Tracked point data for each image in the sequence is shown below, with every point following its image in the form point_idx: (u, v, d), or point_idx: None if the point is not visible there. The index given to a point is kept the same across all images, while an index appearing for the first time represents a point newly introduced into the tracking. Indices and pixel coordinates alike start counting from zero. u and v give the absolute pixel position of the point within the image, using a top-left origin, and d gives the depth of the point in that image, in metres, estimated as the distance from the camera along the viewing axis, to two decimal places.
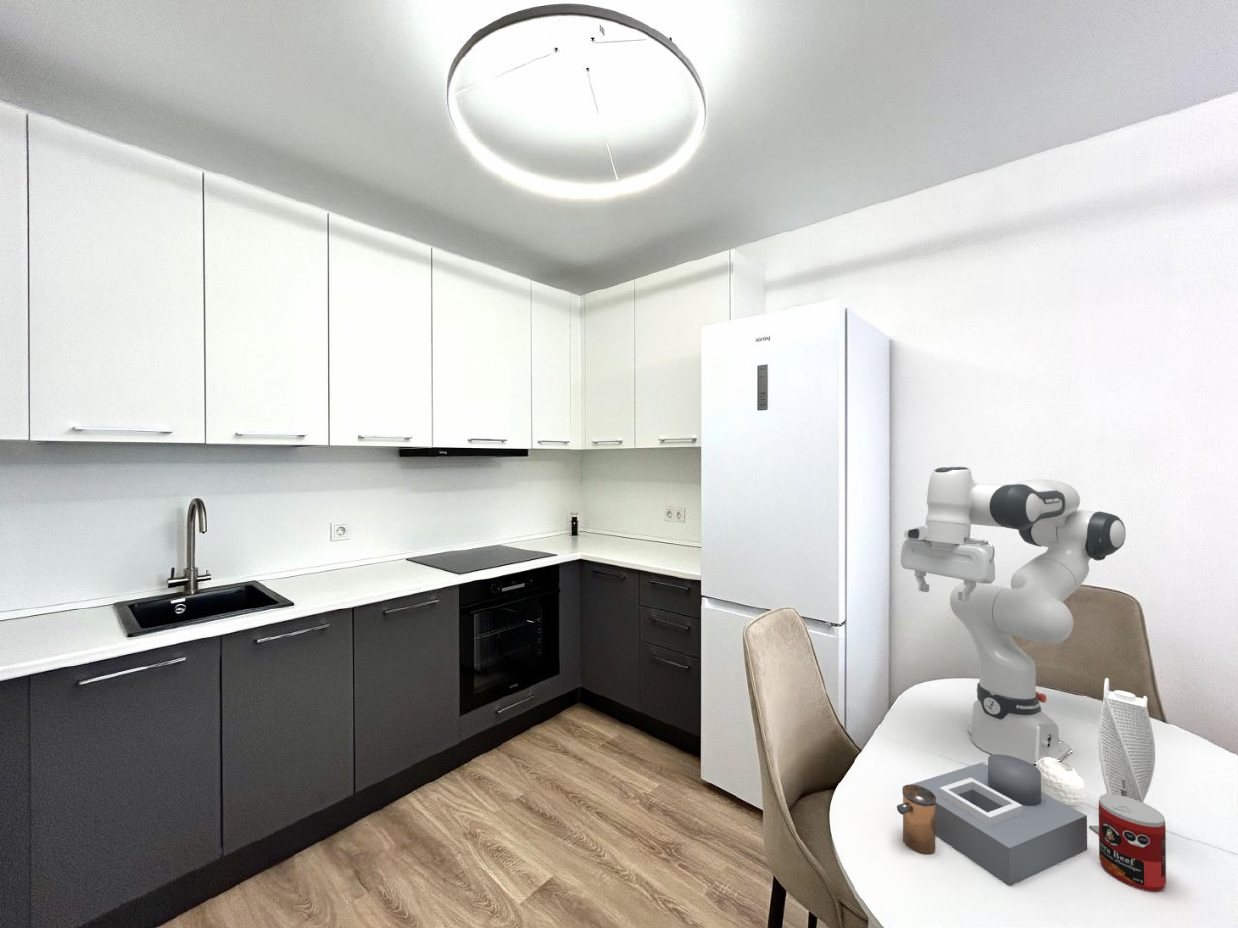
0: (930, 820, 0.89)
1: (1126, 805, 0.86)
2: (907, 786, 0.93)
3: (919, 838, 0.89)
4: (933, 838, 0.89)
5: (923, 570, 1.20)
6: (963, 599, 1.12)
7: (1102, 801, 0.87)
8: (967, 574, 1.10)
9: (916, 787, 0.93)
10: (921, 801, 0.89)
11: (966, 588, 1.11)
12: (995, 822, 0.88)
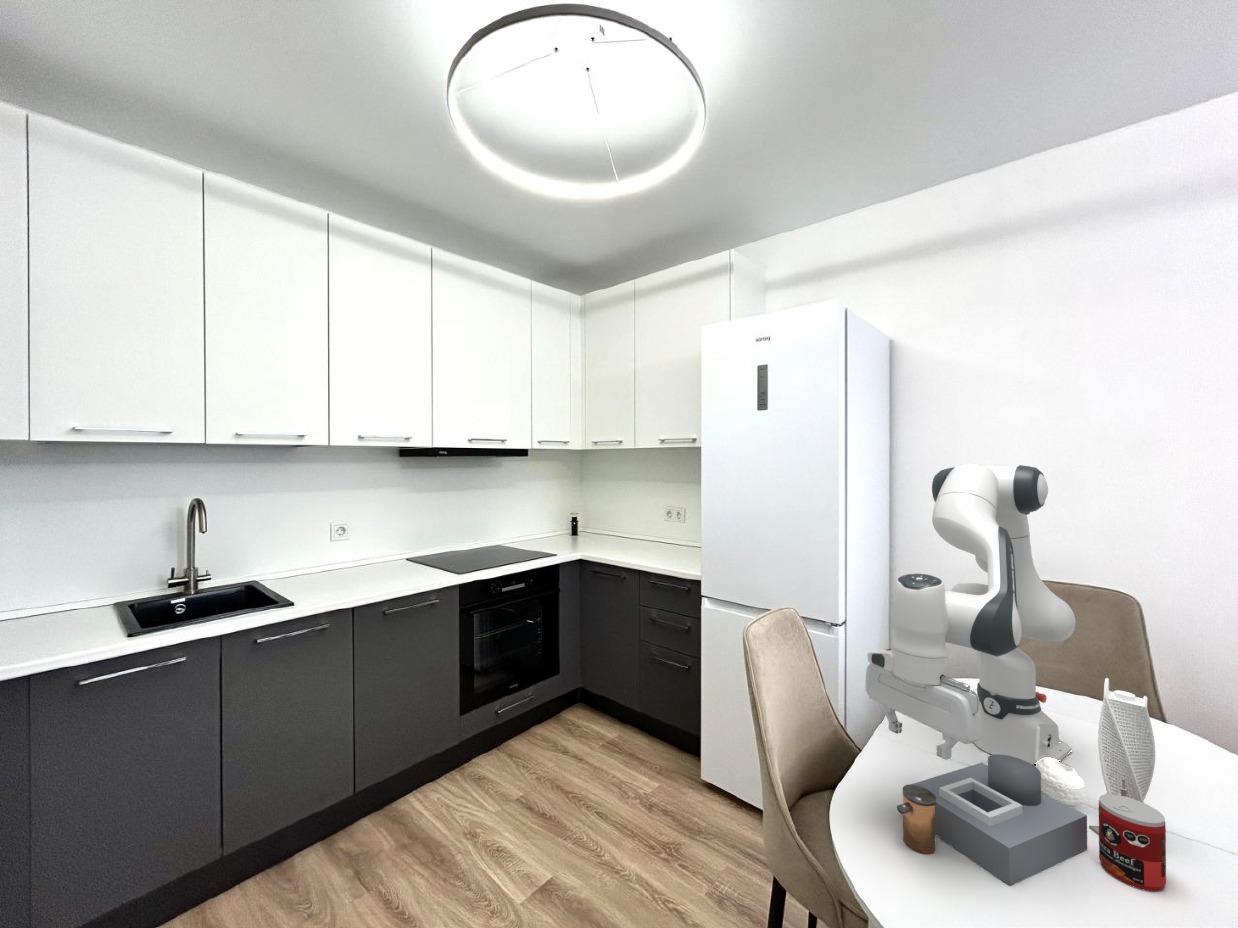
0: (930, 820, 0.89)
1: (1126, 805, 0.86)
2: (907, 786, 0.93)
3: (919, 838, 0.89)
4: (933, 838, 0.89)
5: (892, 707, 0.95)
6: (943, 757, 0.86)
7: (1102, 801, 0.87)
8: (946, 727, 0.85)
9: (916, 787, 0.93)
10: (921, 801, 0.89)
11: (946, 744, 0.86)
12: (995, 822, 0.88)
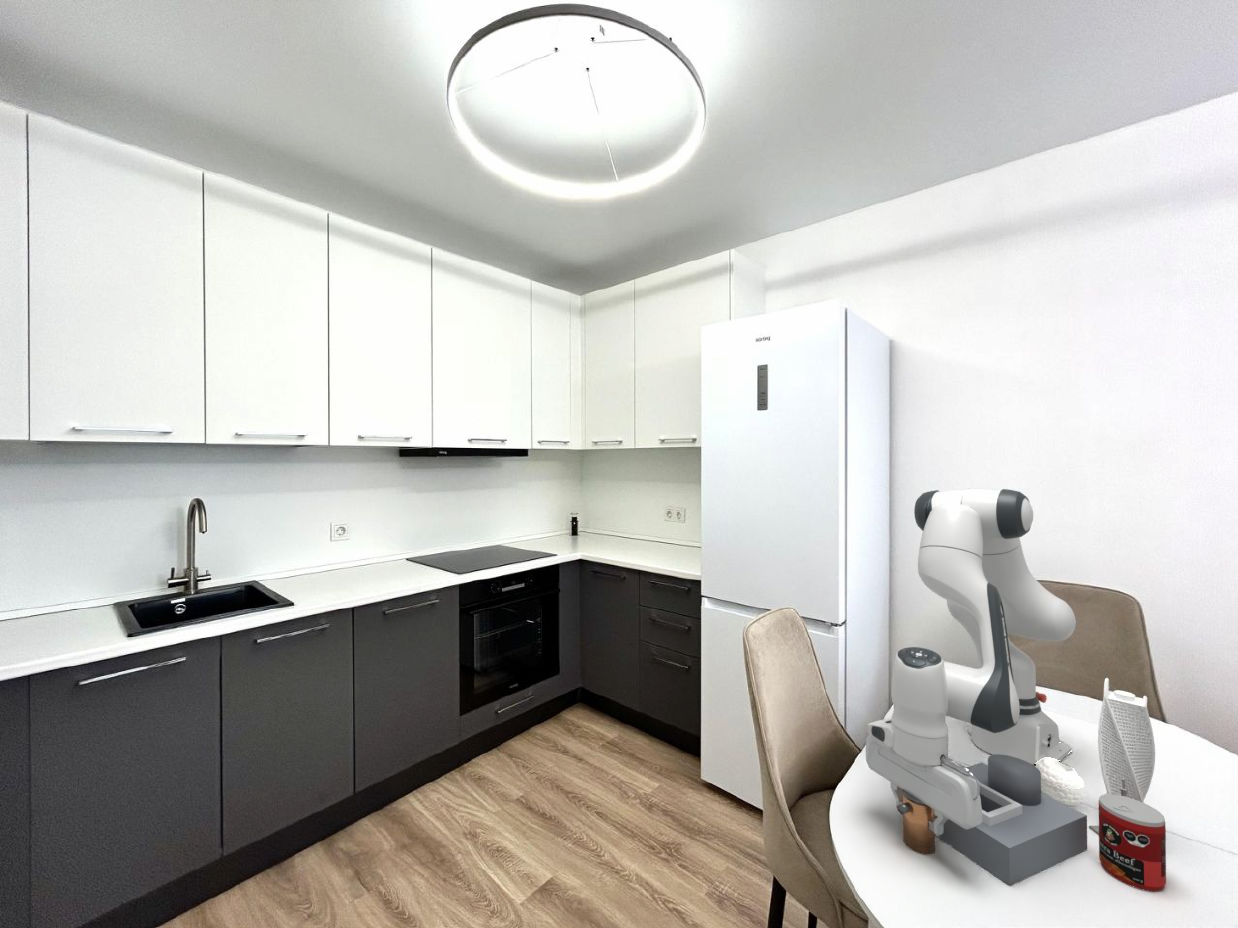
0: None
1: (1126, 805, 0.86)
2: None
3: (919, 838, 0.89)
4: (933, 838, 0.89)
5: (893, 782, 0.94)
6: (935, 833, 0.88)
7: (1102, 801, 0.87)
8: (946, 810, 0.85)
9: None
10: (921, 801, 0.89)
11: (938, 820, 0.87)
12: (995, 822, 0.88)
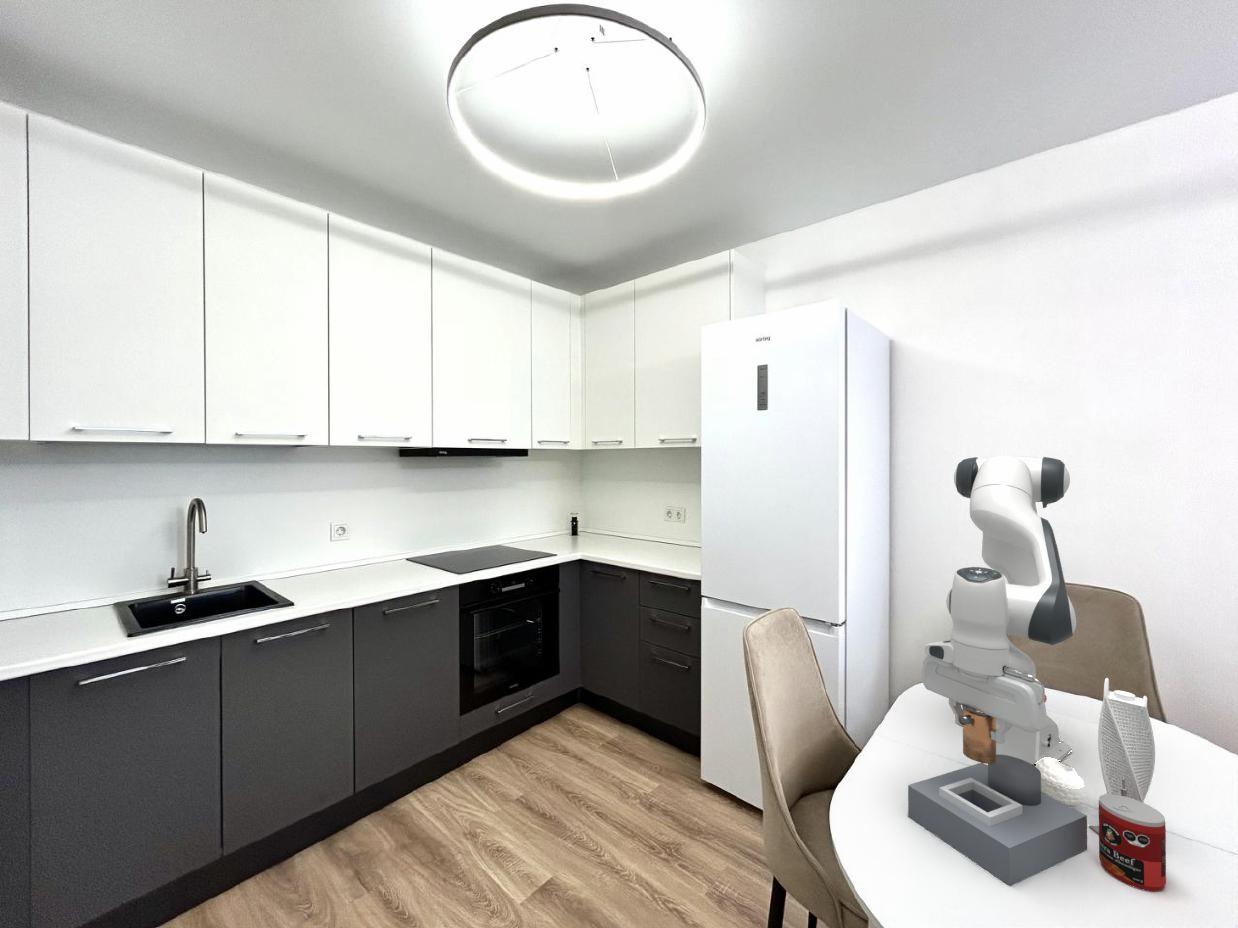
0: None
1: (1126, 805, 0.86)
2: None
3: (981, 748, 0.91)
4: (994, 748, 0.91)
5: (952, 698, 0.97)
6: (998, 741, 0.90)
7: (1102, 801, 0.87)
8: (1010, 717, 0.87)
9: None
10: (983, 712, 0.91)
11: (1000, 729, 0.89)
12: (995, 822, 0.88)
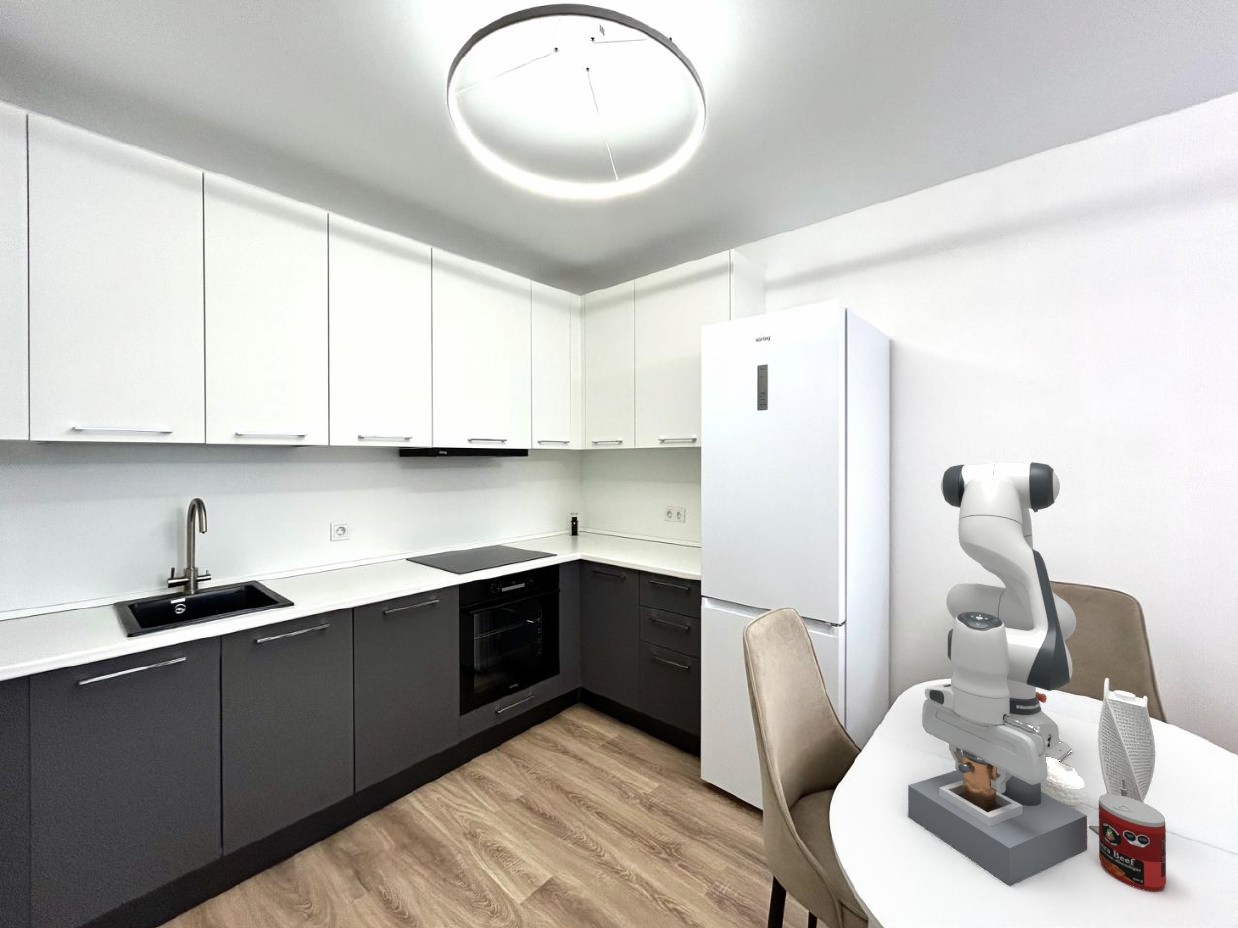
0: (992, 778, 0.91)
1: (1126, 805, 0.86)
2: None
3: (981, 797, 0.91)
4: (994, 797, 0.91)
5: (952, 743, 0.96)
6: (998, 791, 0.89)
7: (1102, 801, 0.87)
8: (1011, 767, 0.87)
9: None
10: (983, 760, 0.91)
11: (1001, 778, 0.89)
12: (995, 822, 0.88)
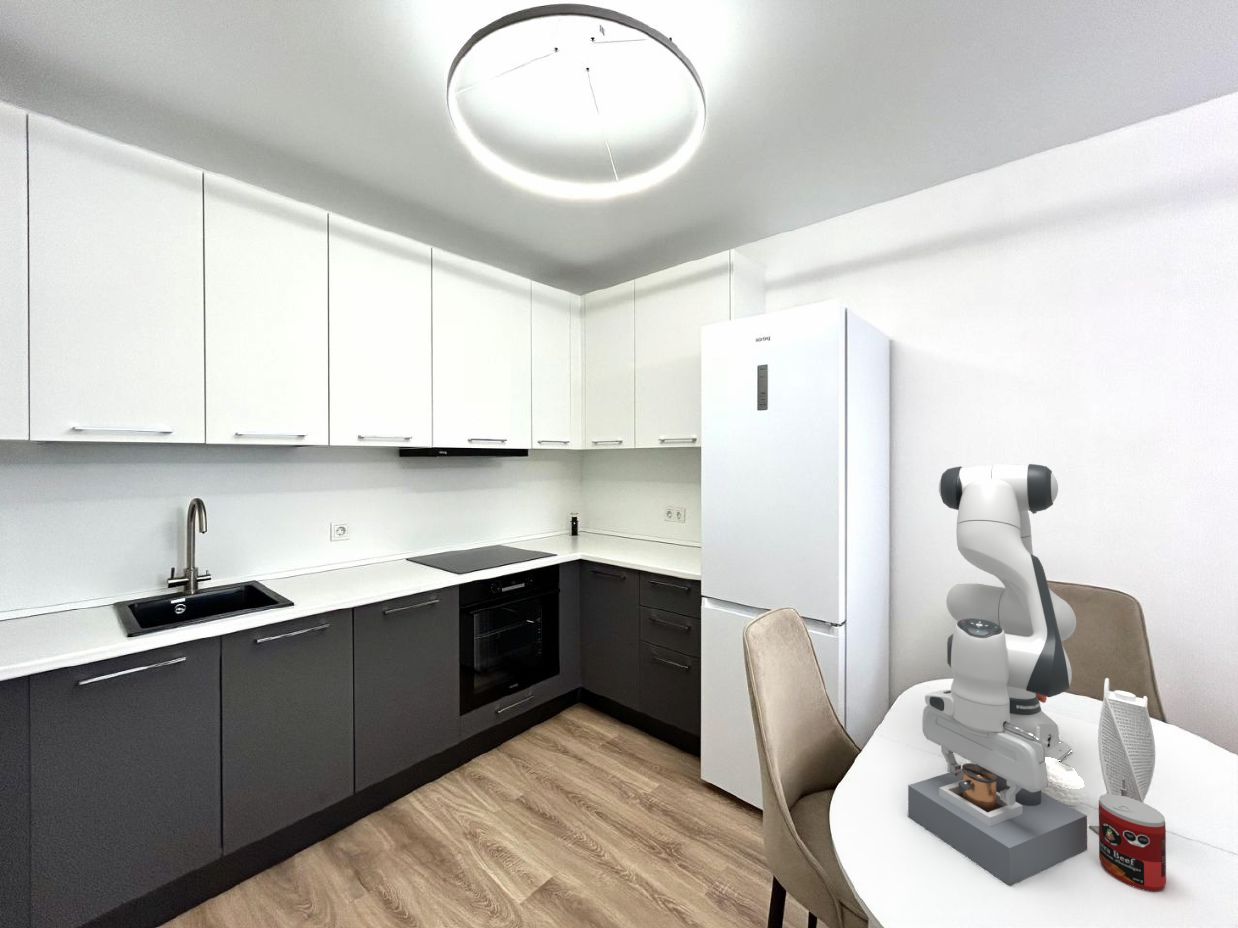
0: (992, 796, 0.91)
1: (1126, 805, 0.86)
2: (966, 764, 0.95)
3: None
4: None
5: (952, 750, 0.96)
6: (1007, 803, 0.88)
7: (1102, 801, 0.87)
8: (1011, 775, 0.87)
9: (975, 765, 0.95)
10: (983, 778, 0.91)
11: (1010, 790, 0.88)
12: (995, 822, 0.88)
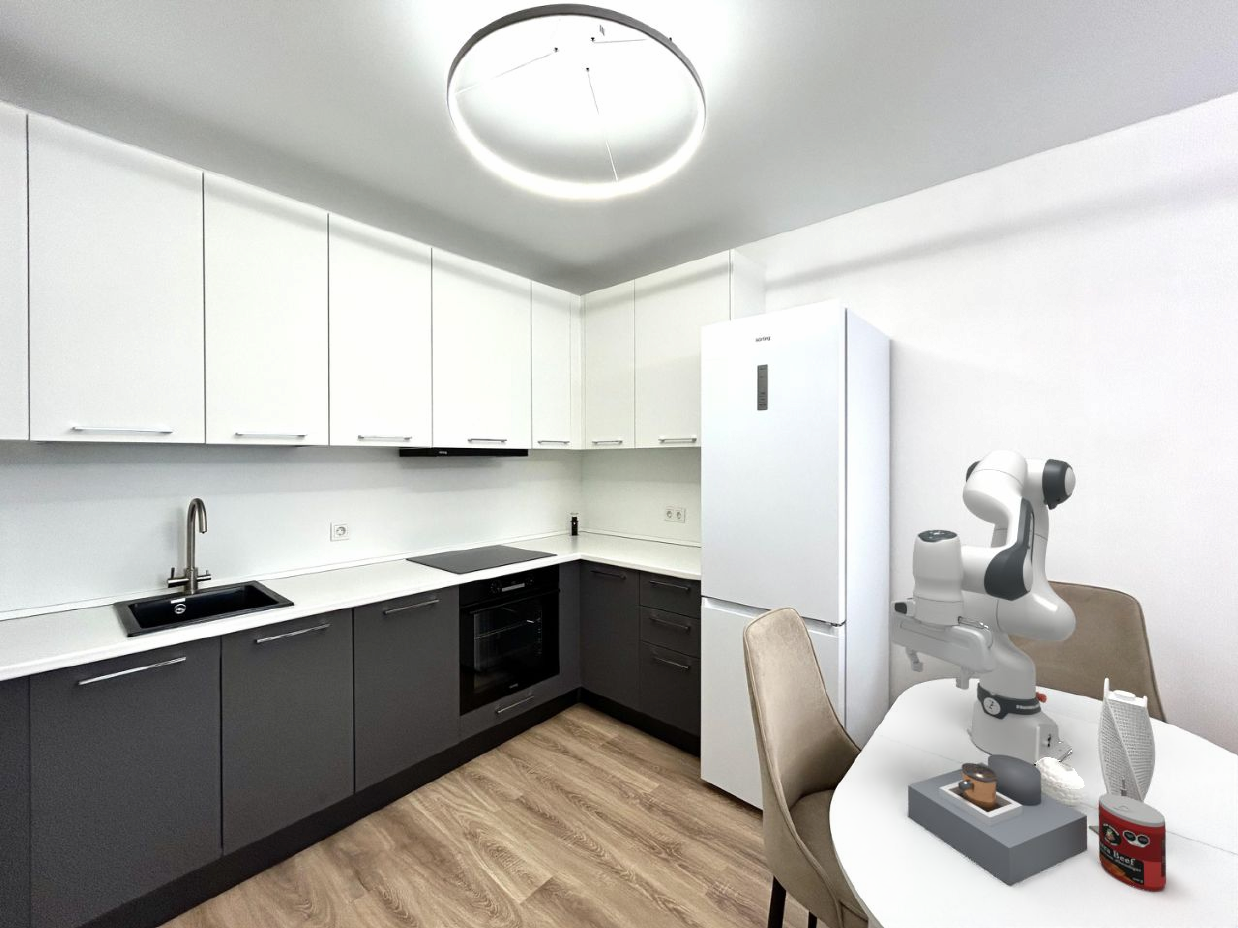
0: (992, 796, 0.91)
1: (1126, 805, 0.86)
2: (966, 764, 0.95)
3: None
4: None
5: (915, 649, 1.06)
6: (962, 687, 0.98)
7: (1102, 801, 0.87)
8: (964, 661, 0.97)
9: (975, 765, 0.95)
10: (983, 777, 0.91)
11: (964, 676, 0.98)
12: (995, 822, 0.88)
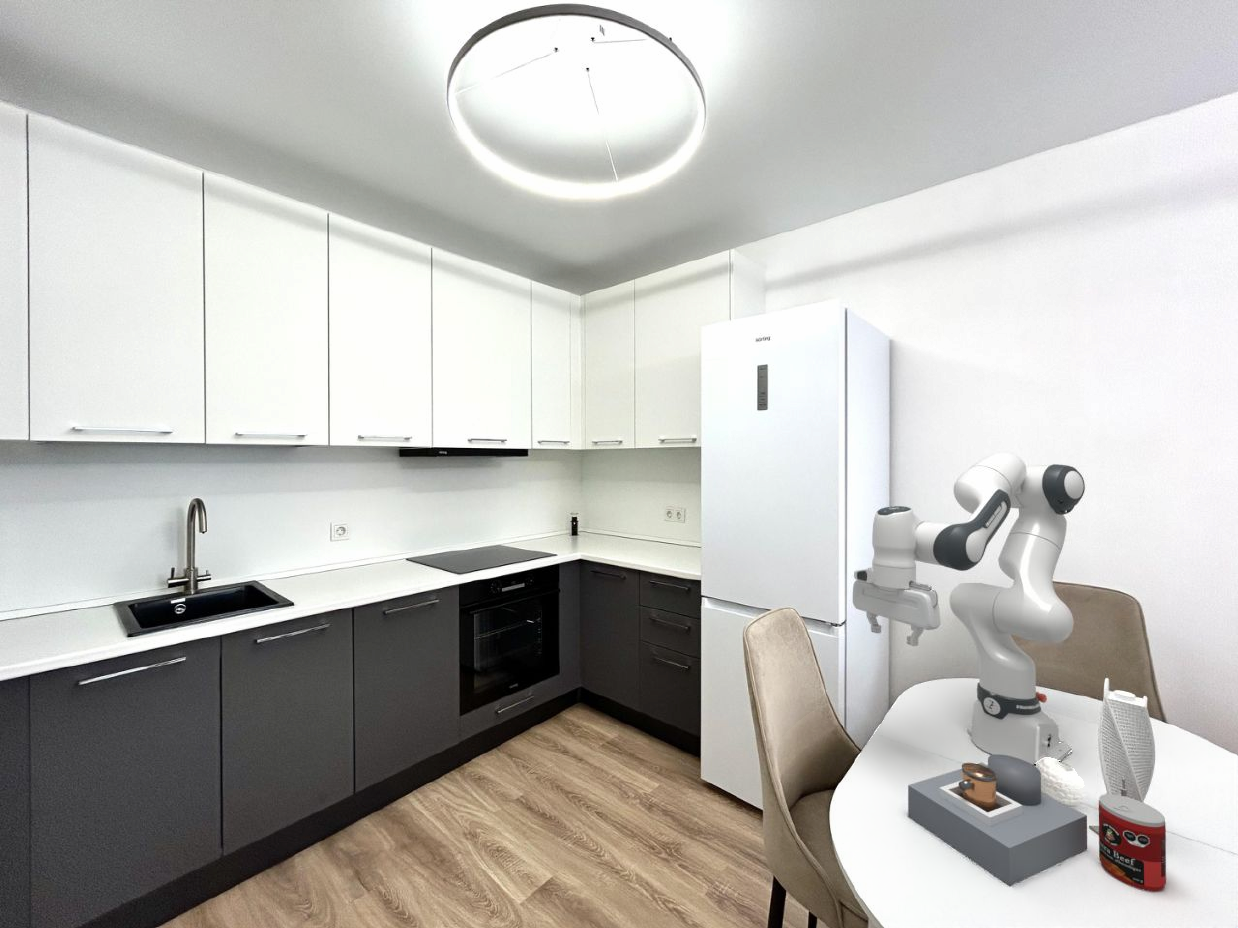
0: (992, 795, 0.91)
1: (1126, 805, 0.86)
2: (966, 764, 0.95)
3: None
4: None
5: (873, 612, 1.19)
6: (911, 644, 1.11)
7: (1102, 801, 0.87)
8: (913, 620, 1.09)
9: (975, 765, 0.95)
10: (983, 777, 0.91)
11: (913, 633, 1.10)
12: (995, 822, 0.88)
